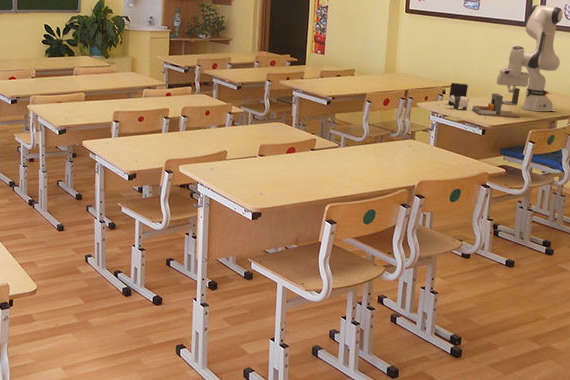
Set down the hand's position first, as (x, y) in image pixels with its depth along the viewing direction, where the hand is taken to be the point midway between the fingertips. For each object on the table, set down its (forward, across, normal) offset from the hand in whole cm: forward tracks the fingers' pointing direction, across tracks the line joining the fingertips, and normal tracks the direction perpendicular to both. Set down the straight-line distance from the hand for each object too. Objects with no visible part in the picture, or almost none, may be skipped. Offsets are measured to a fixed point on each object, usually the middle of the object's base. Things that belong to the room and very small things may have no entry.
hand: (510, 92), depth 540 cm
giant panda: (+15, +32, -8) cm, 36 cm away
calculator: (+15, +28, -22) cm, 39 cm away
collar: (+14, +12, 0) cm, 18 cm away
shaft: (+8, +1, 0) cm, 8 cm away
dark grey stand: (+15, +8, 0) cm, 17 cm away
